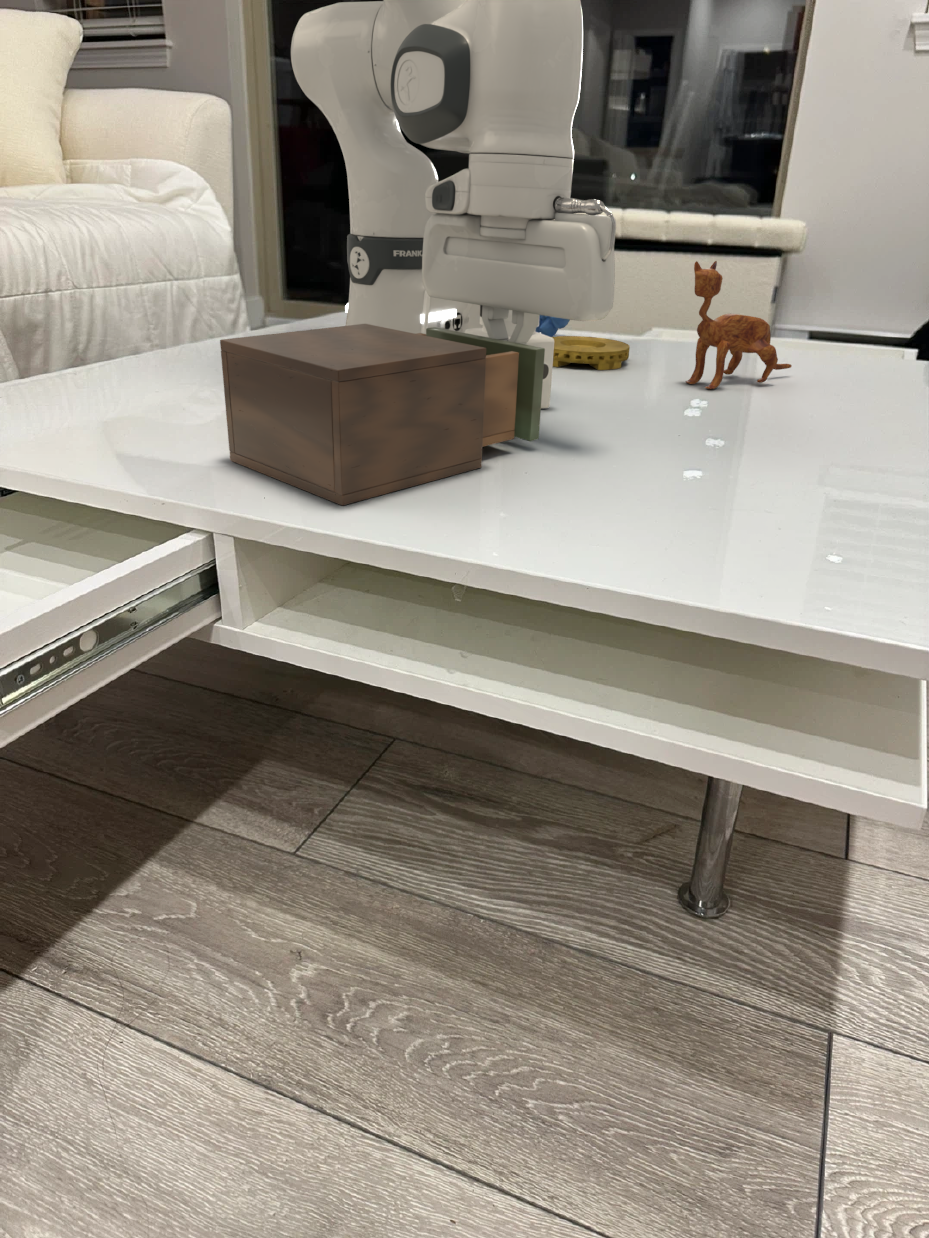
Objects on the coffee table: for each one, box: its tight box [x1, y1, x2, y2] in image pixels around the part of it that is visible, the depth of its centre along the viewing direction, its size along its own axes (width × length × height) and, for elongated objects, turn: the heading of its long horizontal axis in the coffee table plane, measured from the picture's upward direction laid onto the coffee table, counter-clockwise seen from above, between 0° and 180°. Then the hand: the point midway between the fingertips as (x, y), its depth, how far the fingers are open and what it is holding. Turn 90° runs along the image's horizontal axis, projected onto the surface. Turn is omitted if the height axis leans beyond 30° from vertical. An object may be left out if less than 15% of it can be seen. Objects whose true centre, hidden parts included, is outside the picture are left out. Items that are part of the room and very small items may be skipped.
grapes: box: [535, 315, 571, 337], centre depth 132 cm, size 12×7×12 cm, turn 30°
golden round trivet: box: [552, 335, 631, 371], centre depth 118 cm, size 12×12×2 cm
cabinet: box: [219, 324, 486, 506], centre depth 72 cm, size 15×15×10 cm
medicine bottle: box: [464, 305, 554, 410], centre depth 93 cm, size 7×7×12 cm
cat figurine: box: [685, 260, 792, 390], centre depth 106 cm, size 18×7×14 cm, turn 121°
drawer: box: [417, 327, 549, 448], centre depth 79 cm, size 18×13×8 cm
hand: (507, 360), depth 83 cm, fingers closed, pressing on drawer
